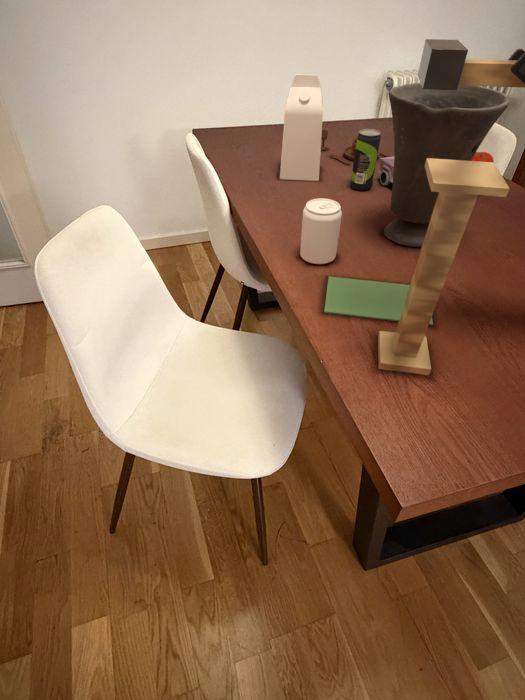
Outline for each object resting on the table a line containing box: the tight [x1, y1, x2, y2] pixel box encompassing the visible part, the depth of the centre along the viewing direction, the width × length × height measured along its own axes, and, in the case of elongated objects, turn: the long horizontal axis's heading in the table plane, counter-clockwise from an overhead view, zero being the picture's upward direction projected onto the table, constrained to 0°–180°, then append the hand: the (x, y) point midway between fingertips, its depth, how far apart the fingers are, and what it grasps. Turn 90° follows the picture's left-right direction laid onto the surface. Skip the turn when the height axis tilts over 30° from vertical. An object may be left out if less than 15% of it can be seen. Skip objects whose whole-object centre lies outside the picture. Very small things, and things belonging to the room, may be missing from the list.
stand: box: [377, 158, 510, 376], centre depth 58 cm, size 8×8×30 cm
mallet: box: [417, 38, 525, 90], centre depth 49 cm, size 16×8×4 cm, turn 79°
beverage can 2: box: [349, 128, 382, 192], centre depth 113 cm, size 6×6×15 cm
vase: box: [383, 82, 511, 248], centre depth 87 cm, size 22×22×30 cm
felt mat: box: [323, 276, 434, 326], centre depth 79 cm, size 20×12×1 cm, turn 79°
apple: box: [471, 151, 495, 163], centre depth 113 cm, size 9×8×11 cm
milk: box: [279, 73, 324, 182], centre depth 118 cm, size 12×12×26 cm
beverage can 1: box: [299, 197, 343, 265], centre depth 87 cm, size 8×8×12 cm
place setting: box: [321, 129, 389, 165], centre depth 137 cm, size 18×20×6 cm
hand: (515, 59), depth 48 cm, fingers closed on mallet, 2 cm apart
